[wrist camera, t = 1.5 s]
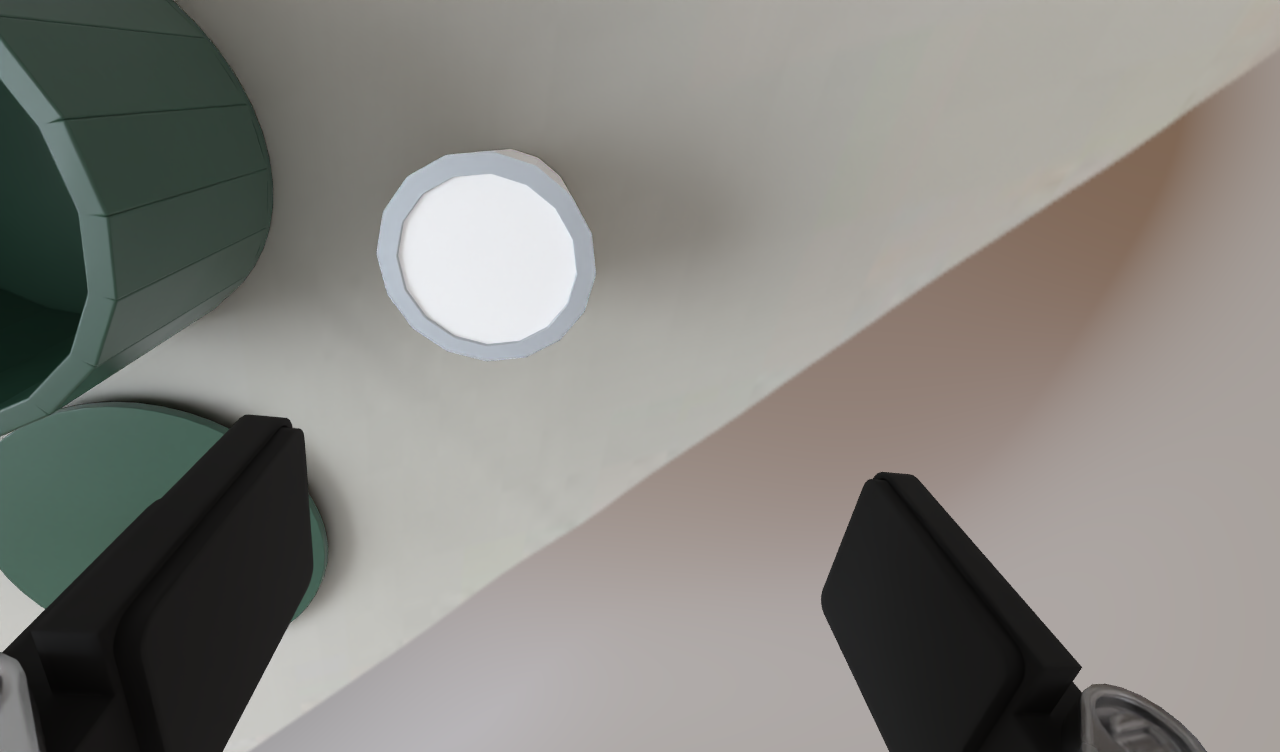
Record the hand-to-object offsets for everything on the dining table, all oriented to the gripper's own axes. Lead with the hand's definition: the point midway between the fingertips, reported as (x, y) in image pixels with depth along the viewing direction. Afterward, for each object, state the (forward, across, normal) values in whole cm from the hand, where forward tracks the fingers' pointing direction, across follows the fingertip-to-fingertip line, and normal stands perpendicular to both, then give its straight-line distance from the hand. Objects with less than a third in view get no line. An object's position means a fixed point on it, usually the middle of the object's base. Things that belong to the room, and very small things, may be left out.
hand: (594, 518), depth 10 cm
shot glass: (+18, +3, -1) cm, 19 cm away
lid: (+18, +18, +17) cm, 31 cm away
